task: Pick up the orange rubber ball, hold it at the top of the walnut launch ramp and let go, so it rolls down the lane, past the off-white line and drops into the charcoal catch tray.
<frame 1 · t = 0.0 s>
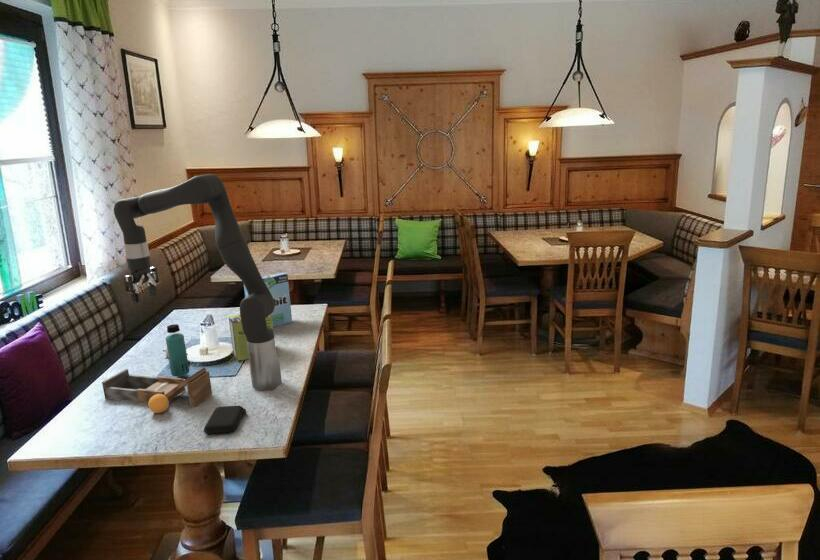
hand: (145, 299, 208), 29 cm above the table, tool pointing down, fingers open, 8 cm apart
gum box: (271, 326, 264), on the table
protein box: (254, 353, 233), on the table
game die: (177, 362, 227), on the table
carrying case or bag: (227, 424, 178), on the table
beverage bottle: (181, 377, 213), on the table
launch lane: (162, 396, 198), on the table
ball: (158, 403, 186), point 3 cm above the table
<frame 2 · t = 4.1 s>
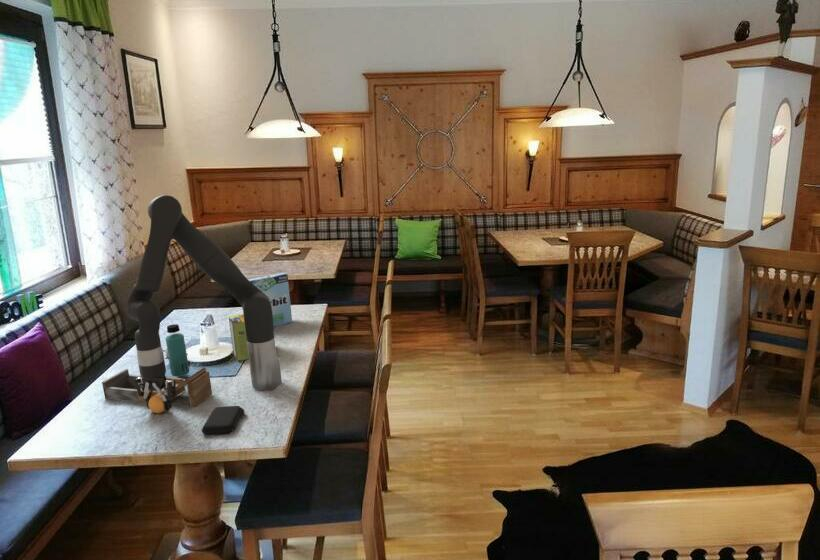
hand: (159, 408, 186), 1 cm above the table, tool pointing down, fingers closed on ball, 6 cm apart
ball: (158, 403, 186), point 3 cm above the table, touching gripper
everything else where it was.
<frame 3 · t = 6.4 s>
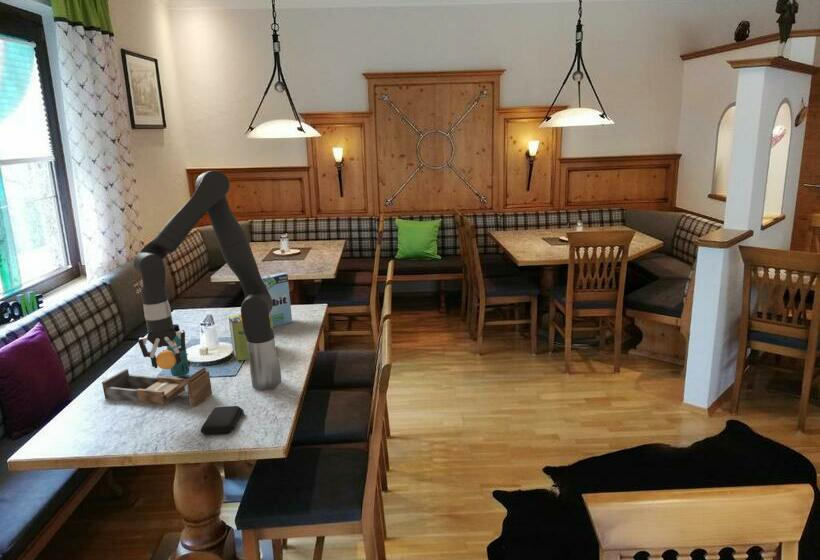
hand: (167, 365, 185), 15 cm above the table, tool pointing down, fingers closed on ball, 6 cm apart
ball: (166, 359, 184), point 17 cm above the table, touching gripper
everything else where it was.
when the fingers open (10 cm above the table, at t = 8.8 s): ball drops 9 cm and tips over, resting on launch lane.
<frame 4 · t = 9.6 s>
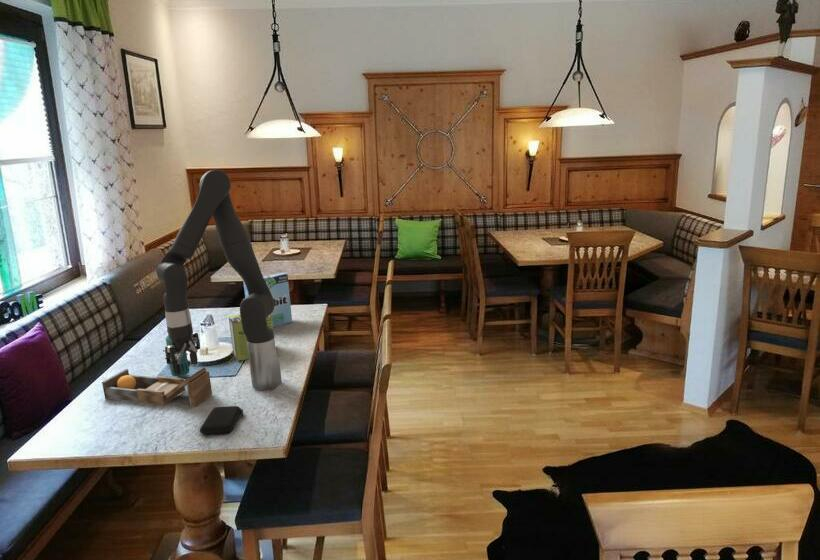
hand: (186, 368, 192), 11 cm above the table, tool pointing down, fingers open, 8 cm apart
ball: (126, 383, 201), point 3 cm above the table, tilted 155°, touching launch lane
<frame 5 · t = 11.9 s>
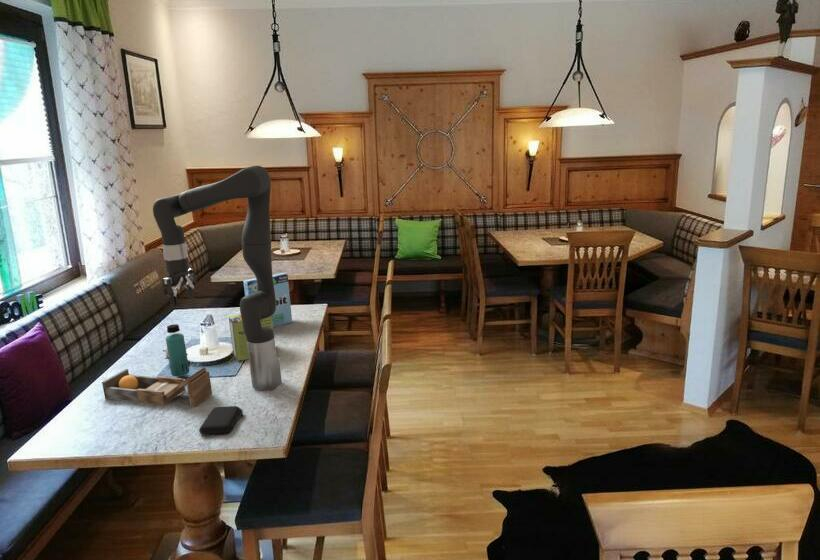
hand: (183, 302, 199), 30 cm above the table, tool pointing down, fingers open, 8 cm apart
ball: (128, 384, 201), point 3 cm above the table, tilted 170°, touching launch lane
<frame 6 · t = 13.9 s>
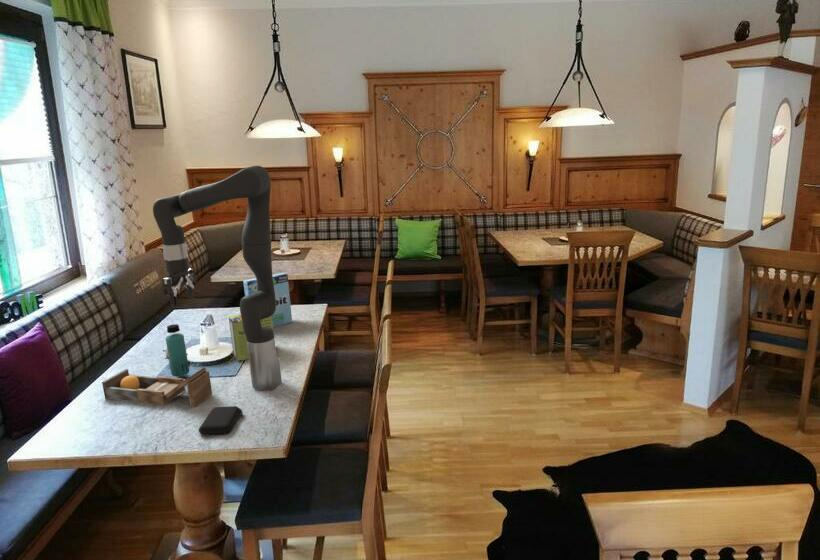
hand: (183, 302, 199), 30 cm above the table, tool pointing down, fingers open, 8 cm apart
ball: (130, 384, 201), point 3 cm above the table, tilted 177°, touching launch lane
at the end: ball inside the target area (0.4 cm from its centre), point 3.2 cm above the table; the gripper is holding nothing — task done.
